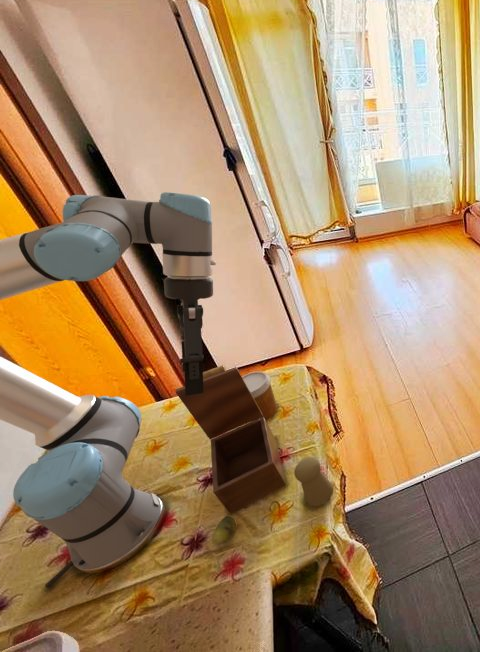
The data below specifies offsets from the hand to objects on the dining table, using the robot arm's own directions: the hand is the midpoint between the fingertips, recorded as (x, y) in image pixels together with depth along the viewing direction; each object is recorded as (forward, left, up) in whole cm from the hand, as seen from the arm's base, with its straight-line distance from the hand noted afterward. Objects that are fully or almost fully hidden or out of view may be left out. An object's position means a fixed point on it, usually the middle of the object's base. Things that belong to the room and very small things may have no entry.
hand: (192, 381), depth 73 cm
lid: (+1, +5, -13) cm, 14 cm away
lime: (-5, -14, -31) cm, 34 cm away
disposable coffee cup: (+6, +18, -31) cm, 36 cm away
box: (+1, -2, -30) cm, 30 cm away
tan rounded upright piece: (+13, -16, -31) cm, 37 cm away
